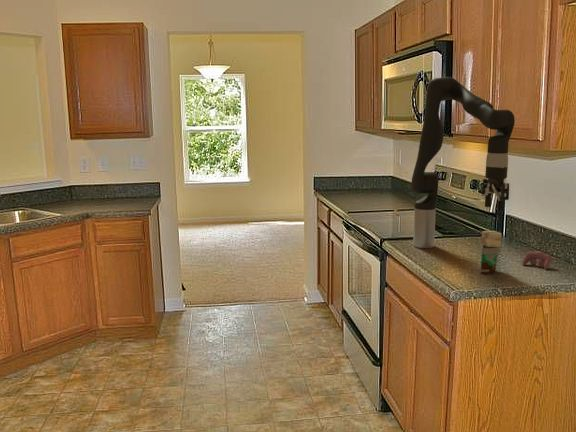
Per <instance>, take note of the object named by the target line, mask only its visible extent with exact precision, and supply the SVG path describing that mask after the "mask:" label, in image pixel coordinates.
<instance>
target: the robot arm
mask: <svg viewBox="0 0 576 432" xmlns="http://www.w3.org/2000/svg"><path fill="white" fill-rule="evenodd" d="M425 97H426V98H425V106H424V107H425V108H424V110H425V111H424V116H423V123H422V128H421V134H420V139H419V145H418V151H417V152H418V153H417V156H416V162H415V164H414V165H415V166H414V169H413V172H412V177H411V182H410V183H411V190H412V192H413V193H415V194H425V195H424V196H423V197H422V198H420V199H418V200H416V201H415V202H414V207H413V208H414V210H413V212H414V214H413V233H412V235H413V236H412V245H413V247H415V248H418V249H419V248H420V249H431V248H435V237H436V236H435V235H436V209H437V207H436V206H437V201H438V191H439V176H438V174H437V173H436V172H435V171H426V169H427V166H428V164H429V163H430V162H431V161H432V160H433V159H434V158H435V156H436V155H437V154H439V152H440V151H441V148H442V146H443V141H444V136H445V129H444V126H443V123H442V120H441V118H440V106H441V103H442V102H444V101H450V100H452V101H456V102H458V103H460V104H461V106H462V108H463V109H464V111H465V112H466V113H467V114H468V115H470V116H472V117H473V118H475V119H477V120H478V121H479V122H480V123H481V124H482V125H483V126H485V127H486V128H488V129H490V130H494V131H495V130H496V132H495V134H494V135H493V136H490V137H489V138H488V142H487V153H486V160H485V173H484V174H485V176H484V177H485V178H483V179H482V187H481V195H484V207H485V208H491V207H492V196H493V194H494V196H495V197H497V207H496V210H497V212H504V210H505V202H506V201H509V200H510V183H508V182H507V183H506V182H505V181H504V180H505V179H507V178H508V169H509V168H508V167H509V142H510V139H511V137H512V133H513V130H514V127H515V122H516V119H515V115H514V113H513V112H512V111H511V110H509V109H496V108H494V106H493V104H492V103H490V102H489V101H488V100H485V99H483V98H481V97H479V96H477V95H476V94H475V93H472V92H471V90H469V89H468V88H467V87H465V86H464V85H463V84H462V83H460V82H459V81H458V80H456V79H455V78H454V77H452V76H443V77H434V78H432V79H430V81H429V82H428V85H427V87H426V96H425Z"/></svg>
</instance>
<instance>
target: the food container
mask: <svg viewBox="0 0 576 432" xmlns="http://www.w3.org/2000/svg"><path fill="white" fill-rule="evenodd" d="M500 252H501V249H500V247H487V246H484V245H482V248H481V259H480V260H481V261H480V263H481V264H480V274H482V275H483V274H484V275H489V274H495V273H496V268H497V261H498V254H499V253H500Z"/></svg>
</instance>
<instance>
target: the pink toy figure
mask: <svg viewBox="0 0 576 432" xmlns="http://www.w3.org/2000/svg"><path fill="white" fill-rule="evenodd" d="M552 259H553V258H552V256H551V255H549V254H548V253H546V252H543V251H539V250H534V251H533V250H532V251H531V250H530V251H528V252H527V253H525V255H524V258H523V259H522V263H521V264H522V266H526V265H527V264H528V263H530V265H531V266H536V265H537V264H538V266H539V267H541V268H543V269H544V270H548V269H549V267H550V264H551V263H552V261H553V260H552ZM537 260H539V261H537Z"/></svg>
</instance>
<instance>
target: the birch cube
mask: <svg viewBox="0 0 576 432" xmlns="http://www.w3.org/2000/svg"><path fill="white" fill-rule="evenodd" d="M502 237H503V235H502V233H501V232H499V231H496V230H482V232H481V245H482V246H483V245H484V246H487V247H499V248H500V247H502Z"/></svg>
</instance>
